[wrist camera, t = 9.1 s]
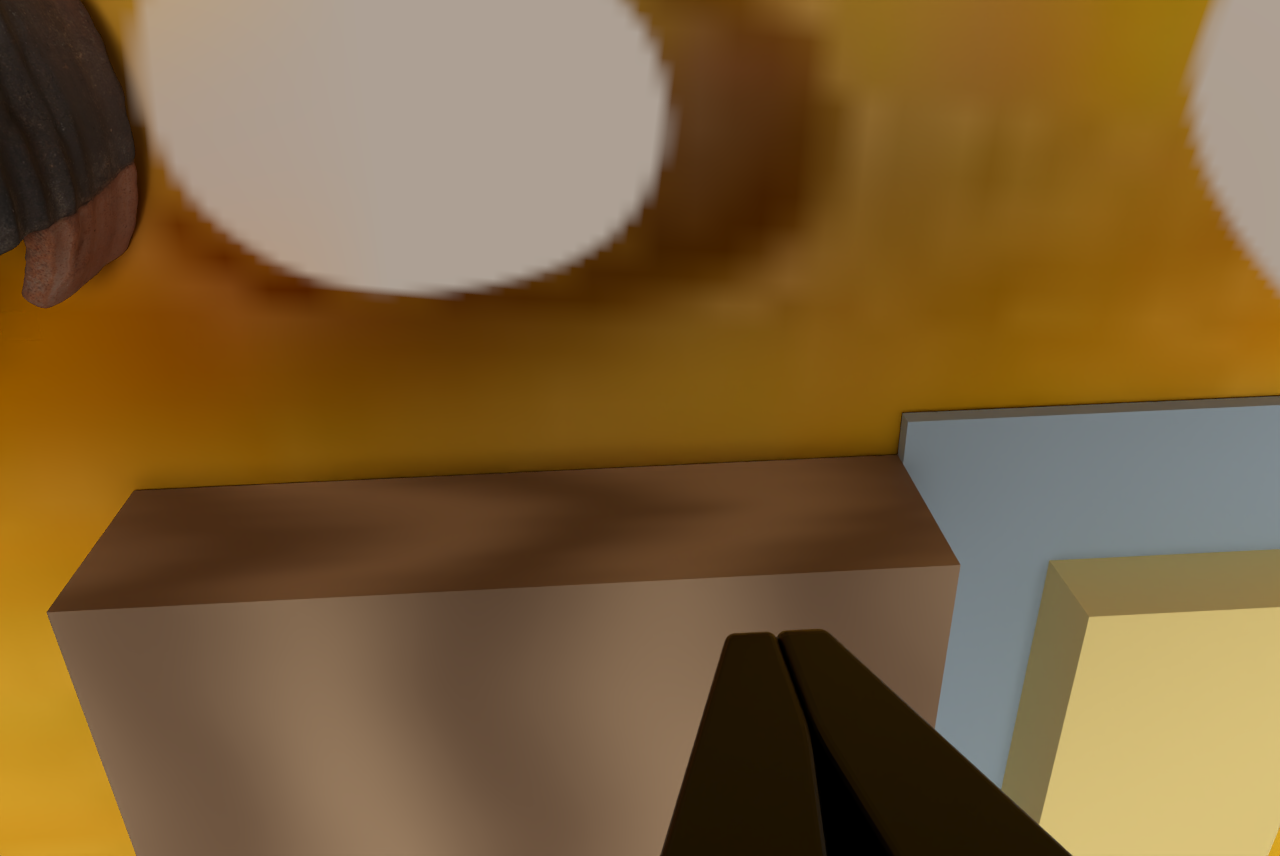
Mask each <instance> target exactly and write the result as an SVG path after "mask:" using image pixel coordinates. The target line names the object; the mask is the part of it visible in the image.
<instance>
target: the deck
mask: <svg viewBox="0 0 1280 856" xmlns="http://www.w3.org/2000/svg"><path fill="white" fill-rule="evenodd" d="M960 566H961V565H960V563H959V561H958V560H957V558H956V556H955V554H954V552H953V551H952V549H951V547H950V545H949V544H948V542H947V540H946V538H945V537H944V535H943V533H942V531H941V530H940V528H939V526H938V524H937V523H936V521H935V519H934V517H933V516H932V514H931V512H930V510H929V509H928V507H927V505H926V503H925V502H924V500H923V498H922V496H921V495H920V493H919V491H918V489H917V488H916V486H915V484H914V482H913V481H912V479H911V477H910V475H909V474H908V472H907V470H906V468H905V467H904V465H903V463H902V461H901V460H900V458H899V456H898V455H880V456H859V457H838V458H816V459H795V460H774V461H753V462H731V463H710V464H689V465H668V466H646V467H625V468H604V469H583V470H561V471H540V472H519V473H498V474H476V475H455V476H434V477H413V478H391V479H370V480H349V481H328V482H306V483H285V484H264V485H243V486H221V487H200V488H179V489H158V490H136V491H133V493H132V494H131V496H130V497H129V498H128V500H127V501H126V502H125V504H124V505H123V507H122V508H121V509H120V511H119V512H118V514H117V515H116V516H115V518H114V519H113V521H112V522H111V523H110V525H109V526H108V528H107V529H106V530H105V532H104V533H103V535H102V536H101V537H100V539H99V540H98V541H97V543H96V544H95V546H94V547H93V548H92V550H91V551H90V553H89V554H88V555H87V557H86V558H85V560H84V561H83V562H82V564H81V565H80V567H79V568H78V569H77V571H76V572H75V574H74V575H73V576H72V578H71V579H70V581H69V582H68V583H67V585H66V586H65V587H64V589H63V590H62V592H61V593H60V594H59V596H58V597H57V599H56V600H55V601H54V603H53V604H52V606H51V607H50V608H49V610H48V611H47V615H48V617H49V620H50V623H51V626H52V628H53V631H54V634H55V636H56V639H57V642H58V645H59V647H60V650H61V653H62V655H63V658H64V661H65V663H66V666H67V669H68V672H69V674H70V677H71V680H72V682H73V685H74V688H75V691H76V693H77V696H78V699H79V701H80V704H81V707H82V709H83V712H84V715H85V718H86V720H87V723H88V726H89V728H90V731H91V734H92V737H93V739H94V742H95V745H96V747H97V750H98V753H99V755H100V758H101V761H102V764H103V766H104V769H105V772H106V774H107V777H108V780H109V783H110V785H111V788H112V791H113V793H114V796H115V799H116V801H117V804H118V807H119V810H120V812H121V815H122V818H123V820H124V823H125V826H126V829H127V831H128V834H129V837H130V839H131V842H132V845H133V847H134V850H135V853H136V856H660V854H661V851H662V848H663V845H664V841H665V838H666V835H667V831H668V828H669V825H670V821H671V818H672V815H673V811H674V808H675V805H676V801H677V798H678V795H679V791H680V788H681V785H682V781H683V778H684V775H685V771H686V768H687V765H688V761H689V758H690V755H691V751H692V748H693V745H694V741H695V738H696V735H697V731H698V728H699V725H700V721H701V718H702V715H703V711H704V708H705V705H706V701H707V698H708V695H709V691H710V688H711V685H712V681H713V678H714V675H715V671H716V668H717V665H718V661H719V658H720V655H721V651H722V648H723V645H724V642H725V639H726V638H727V636H728V635H730V634H733V633H747V632H765V631H767V632H771V633H772V634H774V635H775V636H776V637H777V635H778V634H779V633H780V632H782V631H785V630H802V629H823V630H825V631H827V632H829V633H830V634H832V635H833V636H834V637H835V638H836V639H837V640H838V641H839V642H840V643H841V644H843V645H844V646H845V647H846V648H847V649H848V650H849V651H850V652H851V653H852V654H853V655H855V656H856V657H857V658H858V659H859V660H860V661H861V662H862V663H863V664H864V665H865V666H867V667H868V668H869V669H870V670H871V671H872V672H873V673H874V674H875V675H876V676H877V677H879V678H880V679H881V680H882V681H883V682H884V683H885V684H886V685H887V686H888V687H889V688H891V689H892V690H893V691H894V692H895V693H896V694H897V695H898V696H899V697H900V698H901V699H902V700H904V701H905V702H906V703H907V704H908V705H909V706H910V707H911V708H912V709H913V710H914V711H916V712H917V713H918V714H919V715H920V716H921V717H922V718H923V719H924V720H925V721H926V722H928V723H929V724H930V725H931V726H932V727H933V728H934V729H935V725H936V718H937V712H938V705H939V699H940V693H941V686H942V680H943V674H944V667H945V661H946V655H947V648H948V642H949V636H950V629H951V623H952V616H953V610H954V604H955V597H956V591H957V585H958V578H959V572H960Z"/></svg>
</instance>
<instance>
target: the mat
mask: <svg viewBox="0 0 1280 856" xmlns="http://www.w3.org/2000/svg"><path fill="white" fill-rule="evenodd" d="M898 456H899V458H900V460H901V461H902V463H903V465H904V467H905V468H906V470H907V472H908V474H909V475H910V477H911V479H912V481H913V482H914V484H915V486H916V488H917V489H918V491H919V493H920V495H921V496H922V498H923V500H924V502H925V503H926V505H927V507H928V509H929V510H930V512H931V514H932V516H933V517H934V519H935V521H936V523H937V524H938V526H939V528H940V530H941V531H942V533H943V535H944V537H945V538H946V540H947V542H948V544H949V545H950V547H951V549H952V551H953V552H954V554H955V556H956V558H957V560H958V561H959V563H960V565H961V566H960V572H959V578H958V585H957V591H956V597H955V604H954V610H953V616H952V623H951V629H950V636H949V642H948V648H947V655H946V661H945V667H944V674H943V680H942V686H941V693H940V699H939V705H938V712H937V718H936V725H935V730H936V731H937V732H938V733H940V734H941V735H942V736H943V737H944V738H945V739H946V740H947V741H948V742H949V743H950V744H952V745H953V746H954V747H955V748H956V749H957V750H958V751H959V752H960V753H961V754H962V755H964V756H965V757H966V758H967V759H968V760H969V761H970V762H971V763H972V764H973V765H974V766H976V767H977V768H978V769H979V770H980V771H981V772H982V773H983V774H984V775H985V776H986V777H988V778H989V779H990V780H991V781H992V782H993V783H994V784H995V785H996V786H997V787H998V788H1000V789H1001V788H1002V783H1003V778H1004V774H1005V769H1006V764H1007V759H1008V755H1009V750H1010V745H1011V740H1012V736H1013V731H1014V726H1015V721H1016V717H1017V712H1018V707H1019V702H1020V698H1021V693H1022V688H1023V683H1024V679H1025V674H1026V669H1027V664H1028V660H1029V655H1030V650H1031V645H1032V641H1033V636H1034V631H1035V626H1036V622H1037V617H1038V612H1039V607H1040V603H1041V598H1042V593H1043V589H1044V584H1045V579H1046V574H1047V570H1048V565H1049V560H1068V559H1089V558H1109V557H1129V556H1150V555H1170V554H1190V553H1210V552H1231V551H1251V550H1271V549H1280V396H1269V397H1247V398H1225V399H1203V400H1181V401H1159V402H1137V403H1114V404H1092V405H1070V406H1048V407H1026V408H1004V409H982V410H960V411H938V412H916V413H902V422H901V431H900V439H899V448H898Z"/></svg>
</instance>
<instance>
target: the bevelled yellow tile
mask: <svg viewBox="0 0 1280 856" xmlns="http://www.w3.org/2000/svg"><path fill="white" fill-rule="evenodd" d="M1001 790H1002V791H1003V792H1004V793H1005V794H1006V795H1007V796H1008V797H1009V798H1010V799H1012V800H1013V801H1014V802H1015V803H1016V804H1017V805H1018V806H1019V807H1020V808H1021V809H1022V810H1024V811H1025V812H1026V813H1027V814H1028V815H1029V816H1030V817H1031V818H1032V819H1033V820H1034V821H1036V822H1037V823H1038V824H1039V825H1040V826H1041V827H1042V828H1043V829H1044V830H1045V831H1046V832H1048V833H1049V834H1050V835H1051V836H1052V837H1053V838H1054V839H1055V840H1056V841H1057V842H1058V843H1060V844H1061V845H1062V846H1063V847H1064V848H1065V849H1066V850H1067V851H1068V852H1069V853H1070V854H1072V855H1073V856H1268V855H1269V852H1270V850H1271V847H1272V845H1273V842H1274V840H1275V837H1276V835H1277V832H1278V830H1279V827H1280V549H1271V550H1251V551H1231V552H1210V553H1190V554H1170V555H1150V556H1129V557H1109V558H1089V559H1068V560H1049V565H1048V570H1047V574H1046V579H1045V584H1044V589H1043V593H1042V598H1041V603H1040V607H1039V612H1038V617H1037V622H1036V626H1035V631H1034V636H1033V641H1032V645H1031V650H1030V655H1029V660H1028V664H1027V669H1026V674H1025V679H1024V683H1023V688H1022V693H1021V698H1020V702H1019V707H1018V712H1017V717H1016V721H1015V726H1014V731H1013V736H1012V740H1011V745H1010V750H1009V755H1008V759H1007V764H1006V769H1005V774H1004V778H1003V783H1002V788H1001Z"/></svg>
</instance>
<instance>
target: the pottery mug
mask: <svg viewBox="0 0 1280 856" xmlns="http://www.w3.org/2000/svg"><path fill="white" fill-rule="evenodd" d="M134 158H135V146H134V141H133V136H132V132H131V128H130V124H129V120H128V117H127V113H126V108H125V96H124V92H123V89H122V86H121V85H120V83H119V81H118V79H117V77H116V74H115V73H114V71H113V68H112V66H111V63H110V61H109V58H108V55H107V53H106V49H105V45H104V42H103V40H102V38H101V36H100V34H99V33H98V31H97V30H96V28H95V26H94V23H93V21H92V19H91V17H90V15H89V13H88V11H87V10H86V8H85V7H84V5H83V4H82V2H81V1H80V0H0V255H1V254H3V253H5V252H8V251H10V250H12V249H14V248H15V247H16V246H17V245H19V244H20V242H21V241H22V240H24V243H25V245H26V255H25V259H26V267H25V278H24V284H23V289H22V295H23V297H24V298H25V299H26V300H27V301H28V302H30V303H32V304H34V305H36V306H38V307H41V308H49V307H52V306H54V305H56V304H58V303H60V302H62V301H64V300H66V299H67V298H69V297H70V296H72V295H73V294H74V293H75V292H77V291H78V290H79V289H80V288H81V287H82V286H83V285H84V284H86V283H87V282H88V281H89V280H90V279H92V278H93V277H94V276H95V275H96V274H97V273H98V272H99V271H100V270H101V269H102V268H103V267H104V266H105V265H106V264H108V263H109V262H111V261H113V260H114V259H116V258H118V257H119V256H120V255H122V254H123V253H124V252H125V251H126V249H127V248H128V244H129V241H130V238H131V236H132V234H133V231H134V228H135V225H136V215H137V206H138V188H137V169H136V166H135V162H134Z"/></svg>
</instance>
